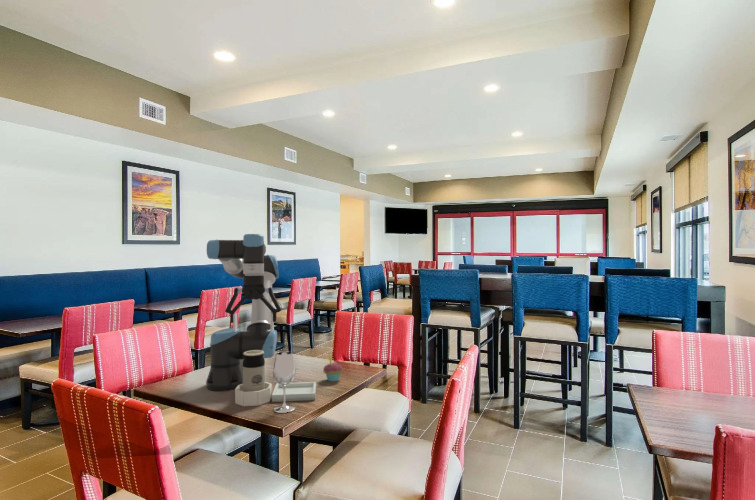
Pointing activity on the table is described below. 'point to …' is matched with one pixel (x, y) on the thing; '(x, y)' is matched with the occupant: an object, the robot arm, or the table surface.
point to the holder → (253, 396)
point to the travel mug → (253, 371)
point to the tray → (295, 392)
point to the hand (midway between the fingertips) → (253, 331)
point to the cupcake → (333, 370)
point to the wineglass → (284, 376)
